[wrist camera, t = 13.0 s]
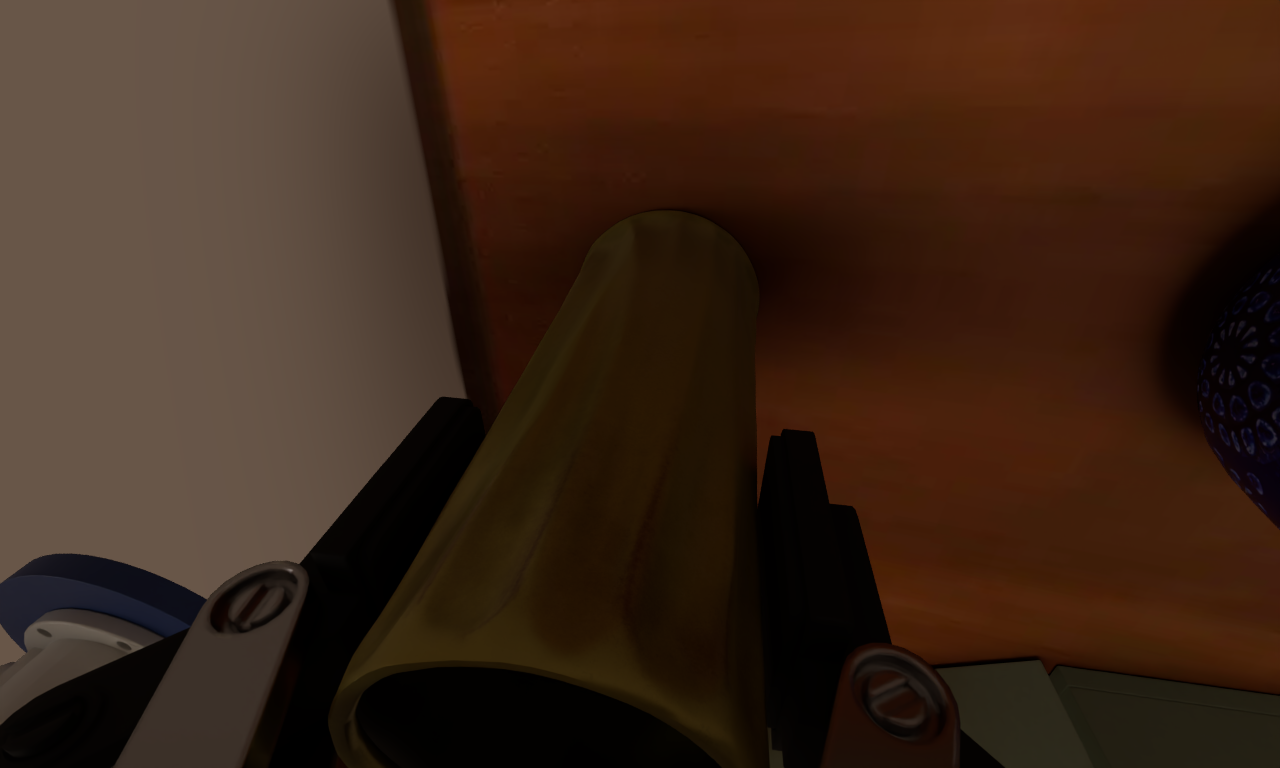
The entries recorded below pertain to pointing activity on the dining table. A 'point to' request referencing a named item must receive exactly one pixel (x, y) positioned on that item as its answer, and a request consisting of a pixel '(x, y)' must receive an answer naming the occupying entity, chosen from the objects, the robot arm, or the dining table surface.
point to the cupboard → (1168, 722)
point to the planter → (1246, 389)
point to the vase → (593, 542)
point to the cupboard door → (1009, 716)
